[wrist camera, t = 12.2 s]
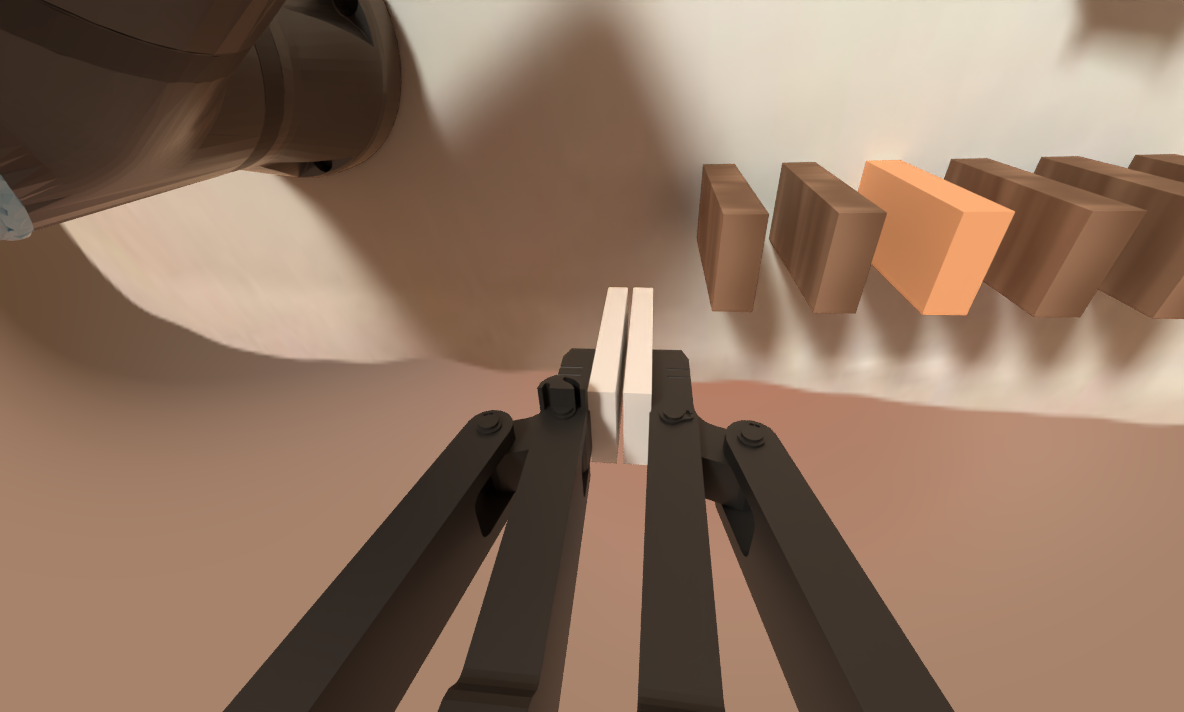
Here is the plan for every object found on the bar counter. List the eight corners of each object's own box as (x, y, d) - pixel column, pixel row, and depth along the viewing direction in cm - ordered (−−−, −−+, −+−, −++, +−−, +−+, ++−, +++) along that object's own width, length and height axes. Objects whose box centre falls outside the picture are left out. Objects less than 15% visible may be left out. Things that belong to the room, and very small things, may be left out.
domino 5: (1003, 237, 30) (1152, 318, 21) (1041, 157, 27) (1231, 209, 18) (1036, 237, 30) (1202, 319, 21) (1078, 156, 27) (1290, 209, 18)
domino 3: (845, 238, 31) (922, 314, 22) (866, 160, 29) (964, 212, 19) (876, 238, 31) (966, 315, 22) (900, 160, 28) (1015, 211, 19)
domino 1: (696, 238, 33) (712, 311, 23) (703, 164, 30) (723, 214, 21) (725, 238, 32) (752, 312, 23) (734, 163, 30) (769, 214, 20)
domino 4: (922, 238, 31) (1033, 316, 22) (951, 159, 28) (1092, 211, 19) (954, 237, 30) (1080, 317, 21) (986, 158, 28) (1147, 210, 19)
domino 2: (768, 238, 32) (813, 312, 23) (782, 162, 29) (839, 213, 20) (798, 238, 32) (855, 313, 23) (815, 162, 29) (887, 212, 20)
